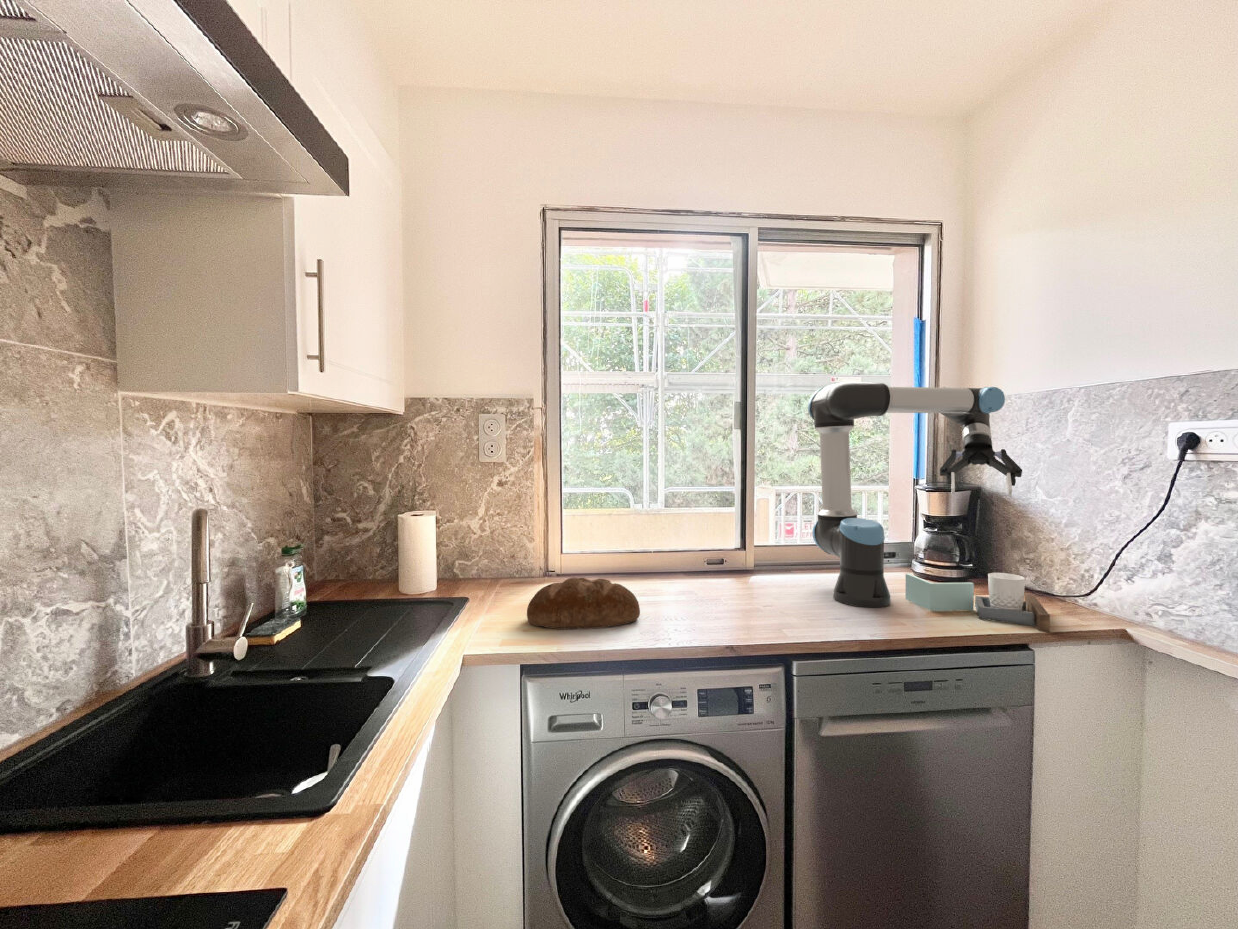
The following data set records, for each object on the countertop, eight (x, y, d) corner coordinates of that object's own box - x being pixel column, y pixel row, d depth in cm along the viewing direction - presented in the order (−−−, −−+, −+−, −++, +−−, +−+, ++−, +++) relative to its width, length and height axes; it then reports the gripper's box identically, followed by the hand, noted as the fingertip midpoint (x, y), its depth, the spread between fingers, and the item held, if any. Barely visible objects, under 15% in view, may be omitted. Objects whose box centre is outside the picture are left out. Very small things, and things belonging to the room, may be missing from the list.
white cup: (1031, 619, 134) (1031, 580, 134) (996, 617, 136) (996, 579, 136) (1014, 610, 142) (1015, 573, 142) (982, 608, 143) (982, 572, 143)
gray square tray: (979, 619, 136) (979, 607, 136) (975, 606, 147) (975, 595, 147) (1036, 626, 131) (1036, 613, 131) (1027, 612, 141) (1027, 601, 141)
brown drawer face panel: (1039, 630, 127) (1039, 614, 127) (1025, 609, 145) (1025, 594, 145) (1049, 632, 126) (1049, 615, 126) (1034, 610, 144) (1034, 595, 144)
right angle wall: (973, 610, 144) (973, 583, 144) (930, 611, 144) (930, 583, 143) (945, 598, 156) (945, 573, 156) (905, 599, 156) (905, 573, 155)
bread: (529, 614, 143) (528, 573, 143) (635, 610, 147) (635, 569, 146) (525, 634, 128) (524, 587, 128) (644, 629, 131) (643, 583, 131)
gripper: (1025, 449, 161) (1033, 502, 148) (930, 449, 173) (930, 498, 161) (1028, 431, 156) (1037, 484, 144) (930, 433, 169) (931, 482, 156)
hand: (981, 492), depth 152 cm, fingers open, 13 cm apart
